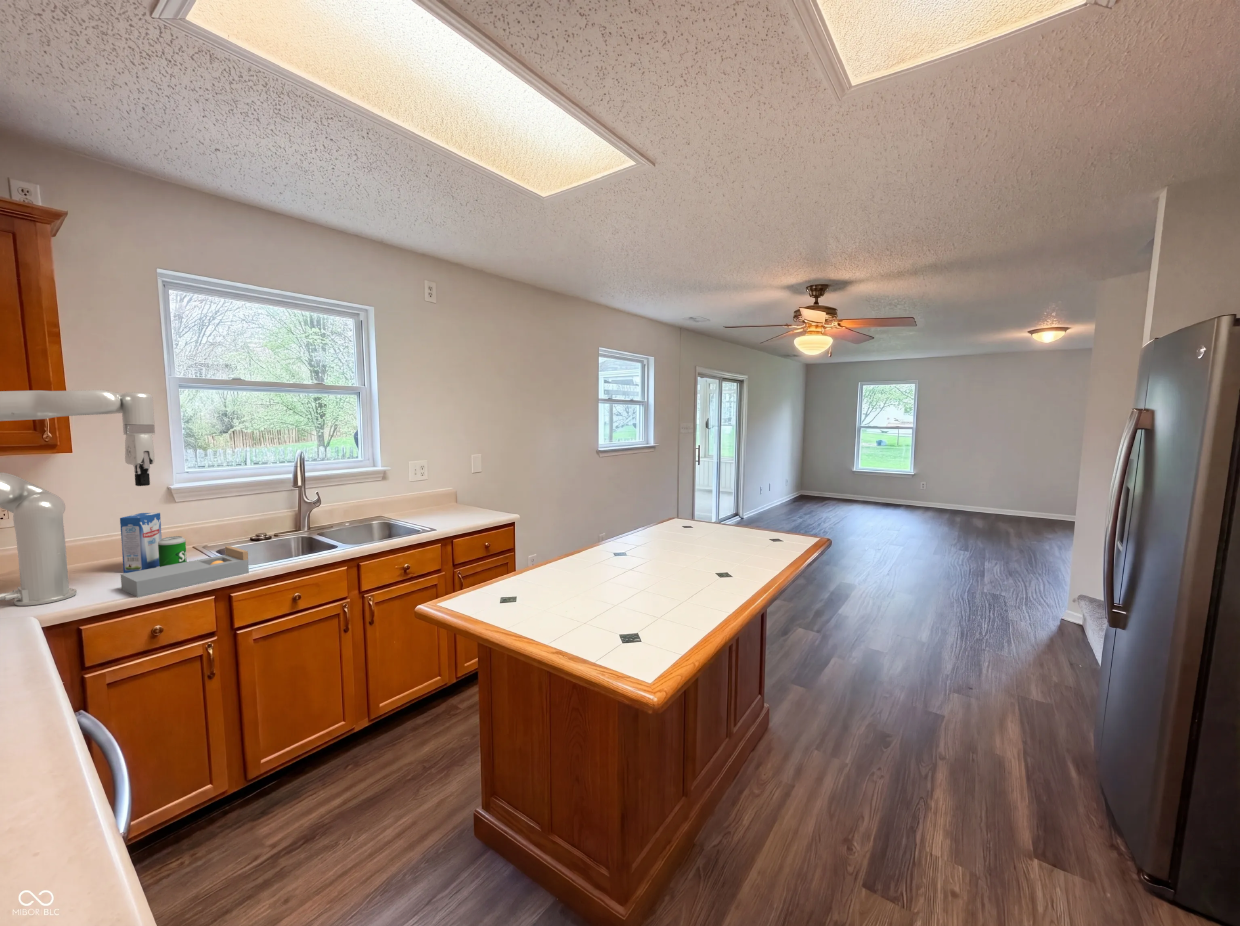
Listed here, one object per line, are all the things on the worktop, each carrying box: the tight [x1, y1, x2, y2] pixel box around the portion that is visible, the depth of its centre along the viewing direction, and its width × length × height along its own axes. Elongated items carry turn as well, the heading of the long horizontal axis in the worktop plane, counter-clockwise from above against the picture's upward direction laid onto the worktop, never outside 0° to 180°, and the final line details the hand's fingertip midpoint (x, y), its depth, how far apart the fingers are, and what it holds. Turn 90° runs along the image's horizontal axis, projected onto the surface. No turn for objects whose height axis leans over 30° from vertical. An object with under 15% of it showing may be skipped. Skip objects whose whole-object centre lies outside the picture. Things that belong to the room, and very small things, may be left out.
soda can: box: [158, 535, 188, 567], centre depth 182 cm, size 8×8×12 cm
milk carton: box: [119, 512, 163, 574], centre depth 182 cm, size 10×6×20 cm, turn 10°
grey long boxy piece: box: [120, 545, 250, 598], centre depth 170 cm, size 30×14×8 cm, turn 149°
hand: (142, 485), depth 165 cm, fingers closed
